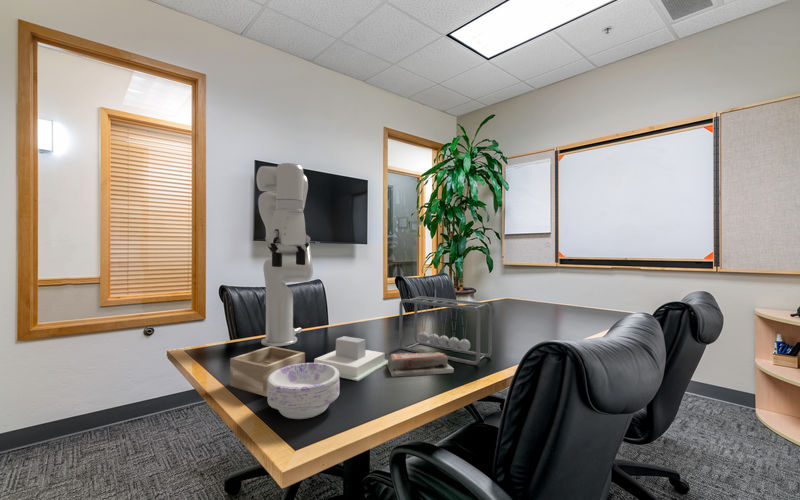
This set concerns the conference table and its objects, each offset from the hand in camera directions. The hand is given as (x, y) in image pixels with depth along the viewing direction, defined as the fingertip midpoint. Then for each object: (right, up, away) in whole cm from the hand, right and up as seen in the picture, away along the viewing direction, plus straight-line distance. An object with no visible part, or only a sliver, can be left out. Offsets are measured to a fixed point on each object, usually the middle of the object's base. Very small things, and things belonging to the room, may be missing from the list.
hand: (289, 265), depth 104 cm
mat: (+18, -30, +2) cm, 35 cm away
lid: (+18, -30, +2) cm, 35 cm away
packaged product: (+38, -31, 0) cm, 49 cm away
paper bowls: (+11, -31, -26) cm, 42 cm away
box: (-2, -30, -11) cm, 32 cm away
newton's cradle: (+47, -30, +15) cm, 58 cm away
